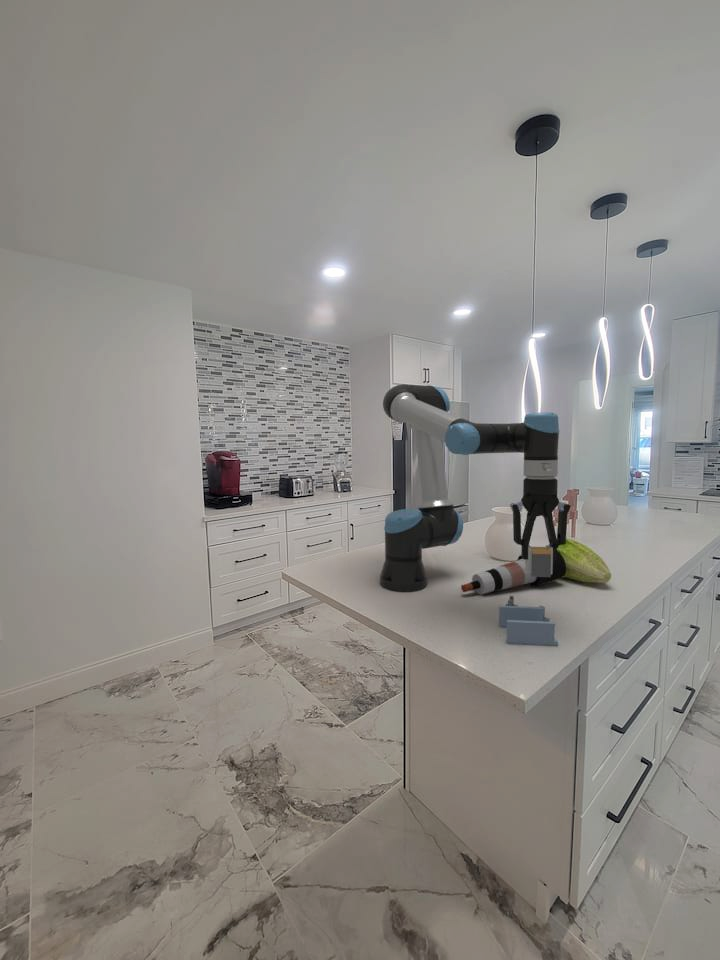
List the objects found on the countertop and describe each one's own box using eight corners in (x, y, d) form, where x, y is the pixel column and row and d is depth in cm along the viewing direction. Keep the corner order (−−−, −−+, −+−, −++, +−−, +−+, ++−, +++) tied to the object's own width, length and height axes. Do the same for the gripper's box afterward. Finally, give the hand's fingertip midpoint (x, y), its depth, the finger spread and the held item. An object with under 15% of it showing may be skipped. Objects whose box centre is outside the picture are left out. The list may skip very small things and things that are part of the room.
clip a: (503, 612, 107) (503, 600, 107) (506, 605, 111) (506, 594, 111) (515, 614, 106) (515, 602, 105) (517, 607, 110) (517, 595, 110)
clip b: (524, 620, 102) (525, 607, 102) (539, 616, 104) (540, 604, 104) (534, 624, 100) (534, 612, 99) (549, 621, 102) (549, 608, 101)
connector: (532, 576, 97) (533, 550, 97) (528, 571, 101) (528, 546, 101) (550, 577, 97) (551, 550, 96) (545, 572, 101) (545, 546, 100)
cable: (460, 607, 121) (449, 574, 125) (549, 581, 132) (536, 551, 136) (477, 604, 112) (465, 568, 115) (571, 576, 123) (557, 544, 127)
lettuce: (587, 576, 118) (619, 547, 120) (531, 549, 138) (559, 525, 140) (599, 606, 122) (629, 578, 125) (543, 576, 142) (570, 552, 145)
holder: (507, 643, 91) (507, 621, 90) (498, 625, 100) (499, 605, 99) (557, 645, 90) (558, 623, 89) (544, 627, 98) (545, 607, 98)
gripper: (507, 479, 95) (505, 576, 97) (584, 478, 93) (582, 578, 95) (500, 476, 102) (499, 567, 104) (571, 476, 100) (569, 568, 102)
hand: (538, 572), depth 99 cm, fingers closed on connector, 4 cm apart
